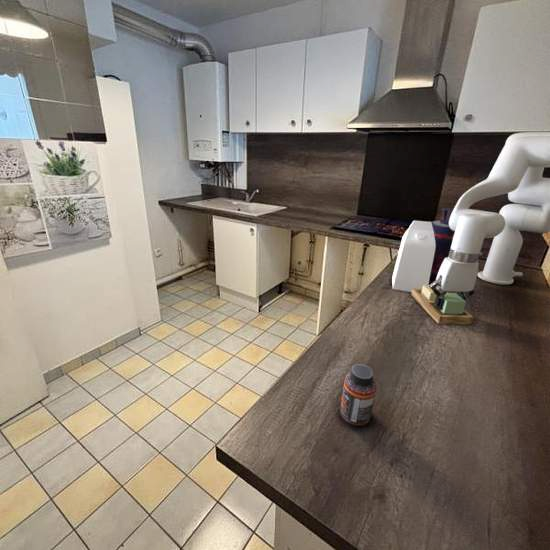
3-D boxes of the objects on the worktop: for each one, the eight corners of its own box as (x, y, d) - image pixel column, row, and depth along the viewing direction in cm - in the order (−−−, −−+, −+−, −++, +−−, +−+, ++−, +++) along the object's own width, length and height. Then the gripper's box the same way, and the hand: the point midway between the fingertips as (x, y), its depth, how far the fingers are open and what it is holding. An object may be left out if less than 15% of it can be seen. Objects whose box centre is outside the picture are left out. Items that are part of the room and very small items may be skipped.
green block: (452, 304, 98) (455, 292, 96) (462, 314, 92) (466, 301, 90) (434, 304, 98) (437, 292, 96) (443, 313, 92) (447, 301, 90)
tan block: (436, 296, 107) (439, 285, 105) (445, 304, 101) (448, 292, 100) (420, 296, 107) (422, 285, 105) (428, 304, 101) (430, 292, 100)
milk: (422, 282, 120) (438, 220, 110) (426, 294, 110) (443, 226, 100) (391, 278, 123) (403, 217, 113) (392, 289, 113) (405, 223, 103)
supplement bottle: (336, 403, 61) (342, 360, 57) (363, 402, 61) (371, 359, 57) (344, 428, 55) (352, 382, 51) (374, 426, 56) (384, 381, 52)
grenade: (418, 283, 119) (435, 209, 108) (416, 272, 129) (432, 204, 118) (456, 289, 115) (478, 212, 103) (452, 278, 125) (472, 207, 113)
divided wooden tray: (438, 295, 109) (440, 289, 108) (471, 324, 91) (474, 317, 90) (411, 294, 109) (412, 288, 108) (438, 323, 91) (440, 316, 90)
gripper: (483, 252, 91) (467, 302, 98) (428, 251, 91) (416, 302, 98) (500, 260, 84) (482, 314, 91) (441, 259, 84) (427, 313, 91)
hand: (448, 307), depth 95 cm, fingers closed on green block, 6 cm apart
